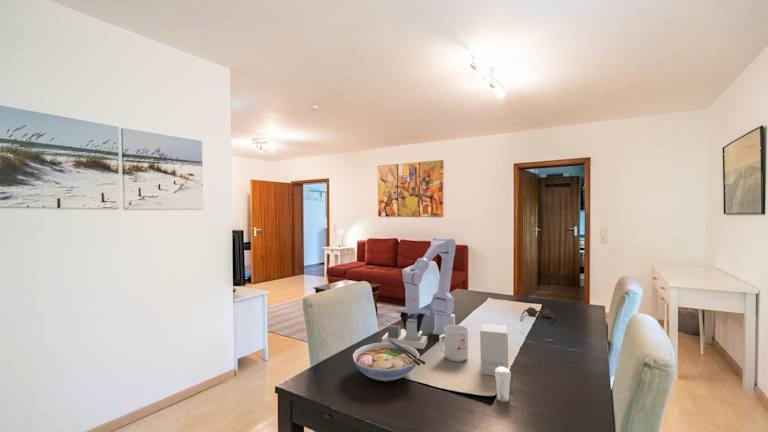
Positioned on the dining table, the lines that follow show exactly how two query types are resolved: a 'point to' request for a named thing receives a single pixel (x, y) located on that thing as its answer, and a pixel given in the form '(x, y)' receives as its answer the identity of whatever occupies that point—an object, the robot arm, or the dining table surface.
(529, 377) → the dining table surface
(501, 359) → the supplement box
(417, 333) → the plug block
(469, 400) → the dining table surface
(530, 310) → the eyeglasses
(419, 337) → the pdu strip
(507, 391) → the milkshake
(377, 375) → the ramen bowl
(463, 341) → the mug
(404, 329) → the pad
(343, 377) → the dining table surface
